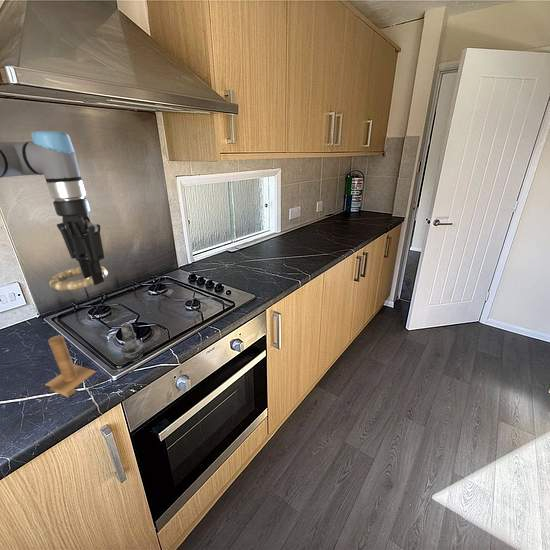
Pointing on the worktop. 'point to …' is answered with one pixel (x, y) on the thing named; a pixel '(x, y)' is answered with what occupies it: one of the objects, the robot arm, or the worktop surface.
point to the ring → (72, 285)
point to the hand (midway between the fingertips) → (95, 282)
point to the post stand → (66, 369)
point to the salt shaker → (131, 343)
